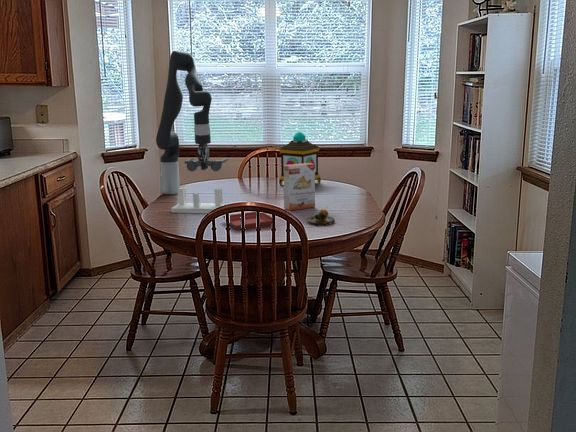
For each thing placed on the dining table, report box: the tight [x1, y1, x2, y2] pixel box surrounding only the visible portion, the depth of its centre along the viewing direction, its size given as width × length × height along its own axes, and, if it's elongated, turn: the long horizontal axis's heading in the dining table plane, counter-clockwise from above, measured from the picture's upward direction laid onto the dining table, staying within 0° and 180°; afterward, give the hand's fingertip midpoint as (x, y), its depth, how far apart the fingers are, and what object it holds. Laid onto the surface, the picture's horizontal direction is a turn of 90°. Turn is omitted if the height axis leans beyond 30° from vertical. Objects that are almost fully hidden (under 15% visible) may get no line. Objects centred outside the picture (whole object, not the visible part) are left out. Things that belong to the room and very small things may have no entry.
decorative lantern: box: [278, 131, 321, 186], centre depth 334 cm, size 20×20×30 cm
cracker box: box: [283, 163, 316, 211], centre depth 276 cm, size 14×6×21 cm, turn 117°
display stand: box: [170, 186, 227, 214], centre depth 278 cm, size 23×12×10 cm, turn 80°
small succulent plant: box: [306, 206, 336, 227], centre depth 251 cm, size 12×12×8 cm
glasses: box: [183, 157, 229, 172], centre depth 291 cm, size 19×11×5 cm, turn 81°
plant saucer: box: [222, 211, 273, 231], centre depth 251 cm, size 18×18×3 cm
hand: (204, 169), depth 287 cm, fingers closed on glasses, 3 cm apart
